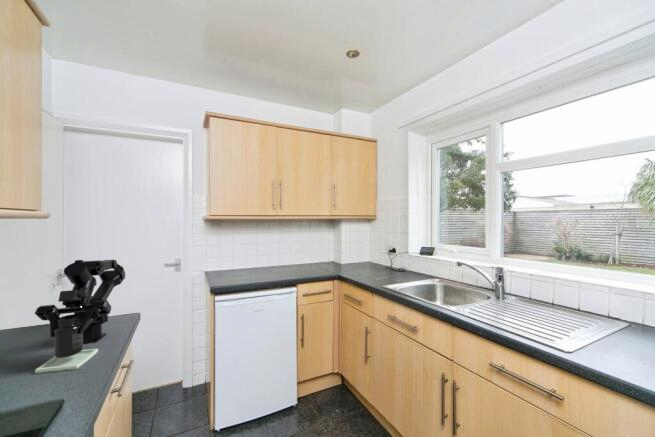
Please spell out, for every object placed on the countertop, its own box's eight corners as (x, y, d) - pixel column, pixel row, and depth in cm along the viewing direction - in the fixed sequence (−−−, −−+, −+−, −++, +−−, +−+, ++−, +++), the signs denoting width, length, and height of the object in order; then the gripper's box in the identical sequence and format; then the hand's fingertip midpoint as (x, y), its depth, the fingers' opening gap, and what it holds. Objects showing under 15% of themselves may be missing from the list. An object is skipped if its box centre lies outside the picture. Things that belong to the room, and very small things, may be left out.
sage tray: (61, 355, 93) (61, 351, 92) (98, 351, 95) (98, 348, 95) (35, 373, 82) (35, 369, 82) (77, 369, 84) (77, 365, 84)
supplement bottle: (81, 345, 93) (80, 311, 93) (85, 352, 89) (84, 316, 89) (52, 353, 88) (52, 317, 88) (55, 361, 84) (55, 323, 83)
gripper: (37, 281, 88) (13, 329, 78) (107, 277, 95) (94, 320, 85) (52, 298, 96) (32, 343, 86) (116, 292, 102) (104, 334, 93)
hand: (66, 335), depth 87 cm, fingers closed on supplement bottle, 7 cm apart
